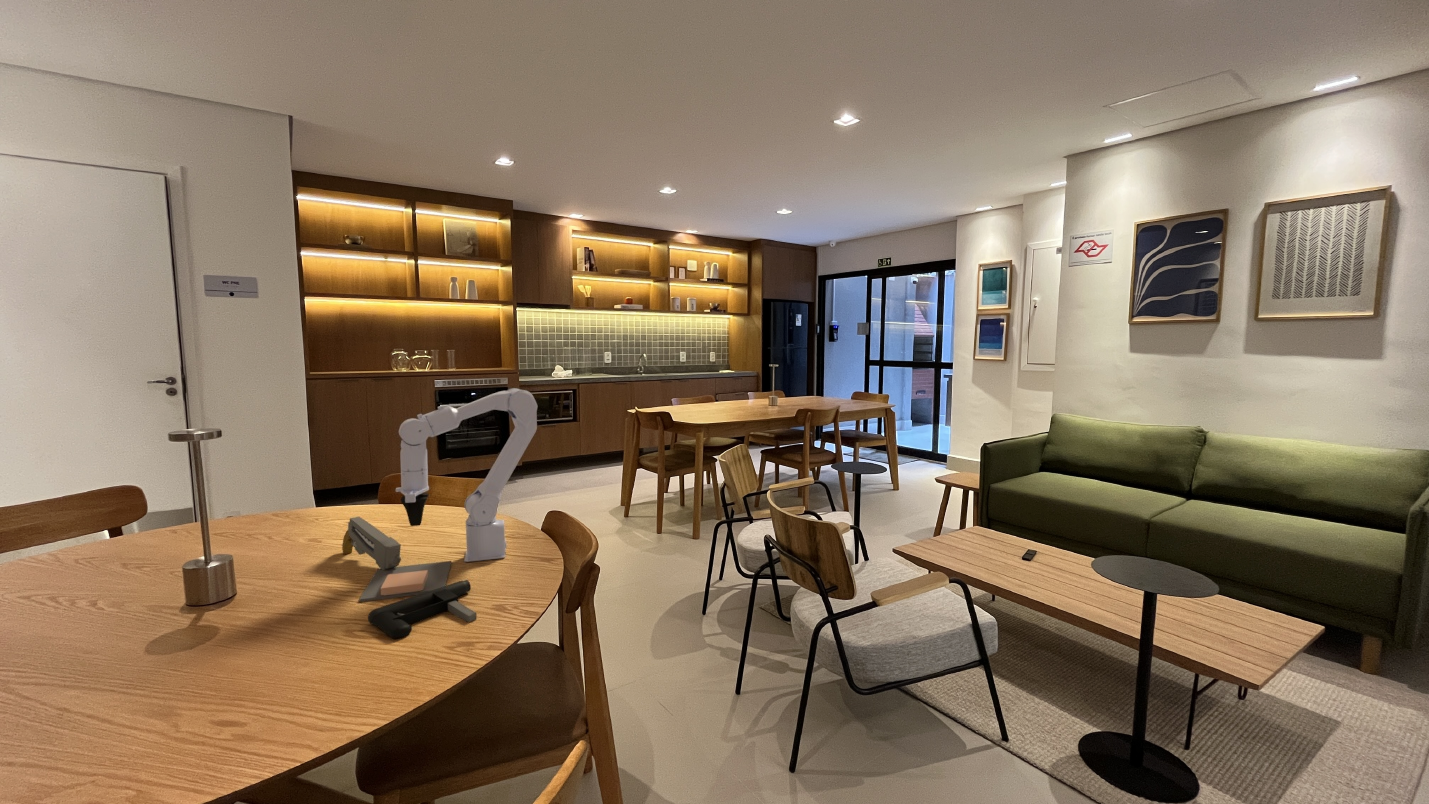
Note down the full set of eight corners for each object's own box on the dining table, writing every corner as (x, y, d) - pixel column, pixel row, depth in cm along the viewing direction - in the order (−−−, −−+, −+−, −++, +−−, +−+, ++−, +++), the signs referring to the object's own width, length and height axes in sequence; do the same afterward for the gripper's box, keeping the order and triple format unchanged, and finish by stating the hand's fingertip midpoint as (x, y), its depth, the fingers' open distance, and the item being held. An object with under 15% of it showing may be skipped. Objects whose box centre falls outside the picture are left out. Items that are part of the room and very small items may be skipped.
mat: (451, 563, 144) (451, 560, 144) (443, 591, 127) (443, 589, 127) (377, 571, 139) (377, 568, 139) (359, 602, 122) (359, 599, 122)
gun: (382, 604, 139) (392, 550, 135) (335, 550, 151) (343, 499, 147) (395, 600, 141) (405, 547, 137) (348, 546, 154) (356, 497, 150)
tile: (427, 570, 133) (422, 583, 125) (428, 577, 133) (423, 591, 126) (388, 574, 130) (380, 588, 123) (388, 582, 131) (381, 596, 123)
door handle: (503, 598, 118) (461, 575, 128) (401, 637, 103) (362, 607, 112) (503, 614, 119) (461, 590, 129) (402, 655, 103) (363, 623, 113)
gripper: (400, 464, 145) (402, 518, 146) (389, 476, 131) (391, 535, 132) (432, 463, 147) (433, 516, 148) (424, 474, 134) (425, 532, 135)
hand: (415, 525), depth 140 cm, fingers closed
